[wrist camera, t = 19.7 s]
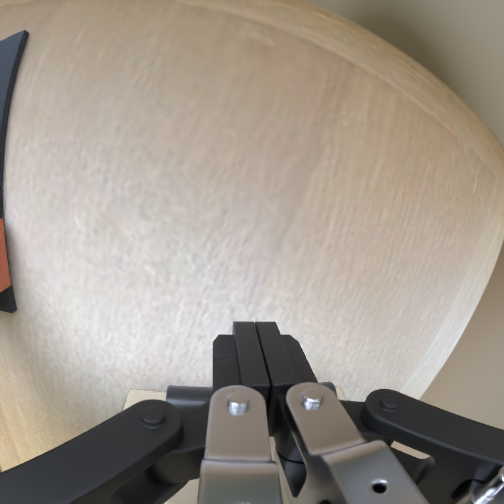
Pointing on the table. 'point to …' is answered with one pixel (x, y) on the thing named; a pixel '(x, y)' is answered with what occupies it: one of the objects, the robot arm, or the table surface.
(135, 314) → the table surface
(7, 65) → the mat
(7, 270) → the block
